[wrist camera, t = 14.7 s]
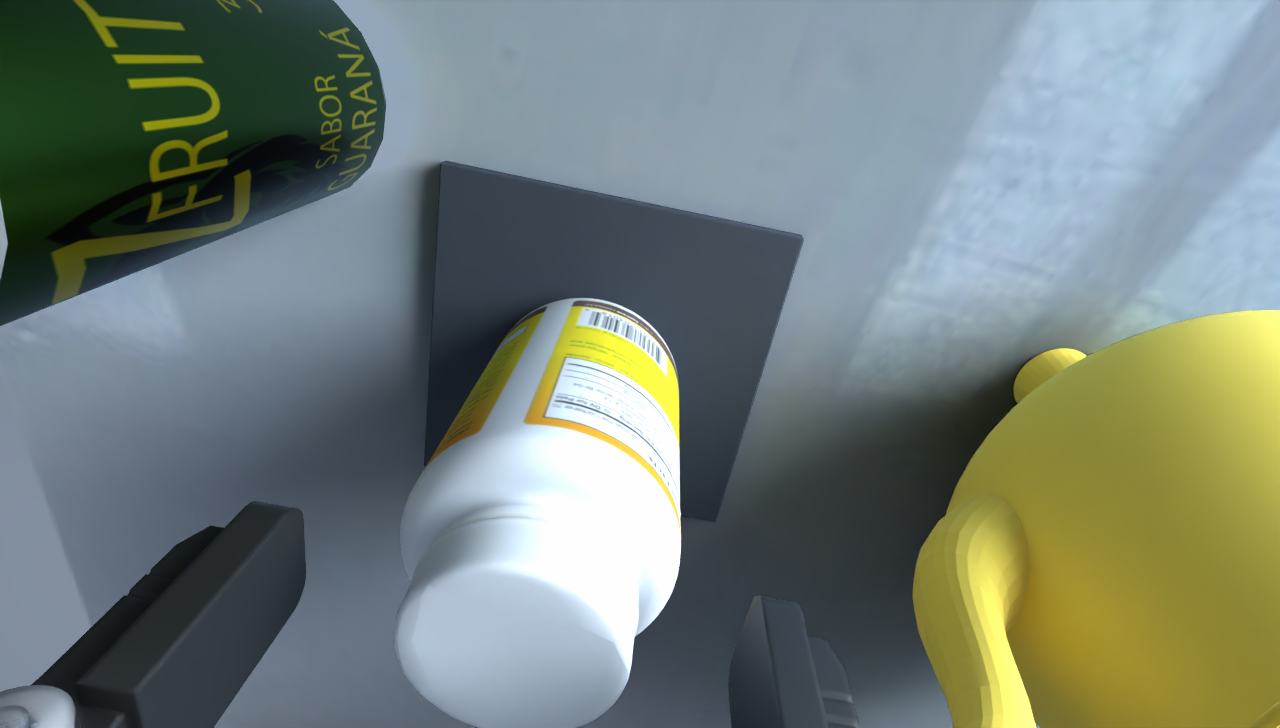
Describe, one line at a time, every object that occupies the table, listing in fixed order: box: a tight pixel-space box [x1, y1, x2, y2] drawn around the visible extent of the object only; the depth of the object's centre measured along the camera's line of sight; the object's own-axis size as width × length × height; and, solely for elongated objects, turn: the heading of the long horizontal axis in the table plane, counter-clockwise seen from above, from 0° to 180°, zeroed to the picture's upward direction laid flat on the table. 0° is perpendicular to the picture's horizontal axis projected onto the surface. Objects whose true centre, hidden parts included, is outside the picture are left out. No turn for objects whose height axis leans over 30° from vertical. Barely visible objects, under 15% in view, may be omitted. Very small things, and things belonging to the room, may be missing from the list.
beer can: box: [0, 0, 386, 326], centre depth 11 cm, size 5×5×12 cm
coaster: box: [424, 161, 804, 522], centre depth 20 cm, size 10×10×1 cm
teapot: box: [912, 310, 1280, 728], centre depth 16 cm, size 20×15×12 cm
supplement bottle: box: [393, 298, 681, 728], centre depth 15 cm, size 6×6×10 cm
